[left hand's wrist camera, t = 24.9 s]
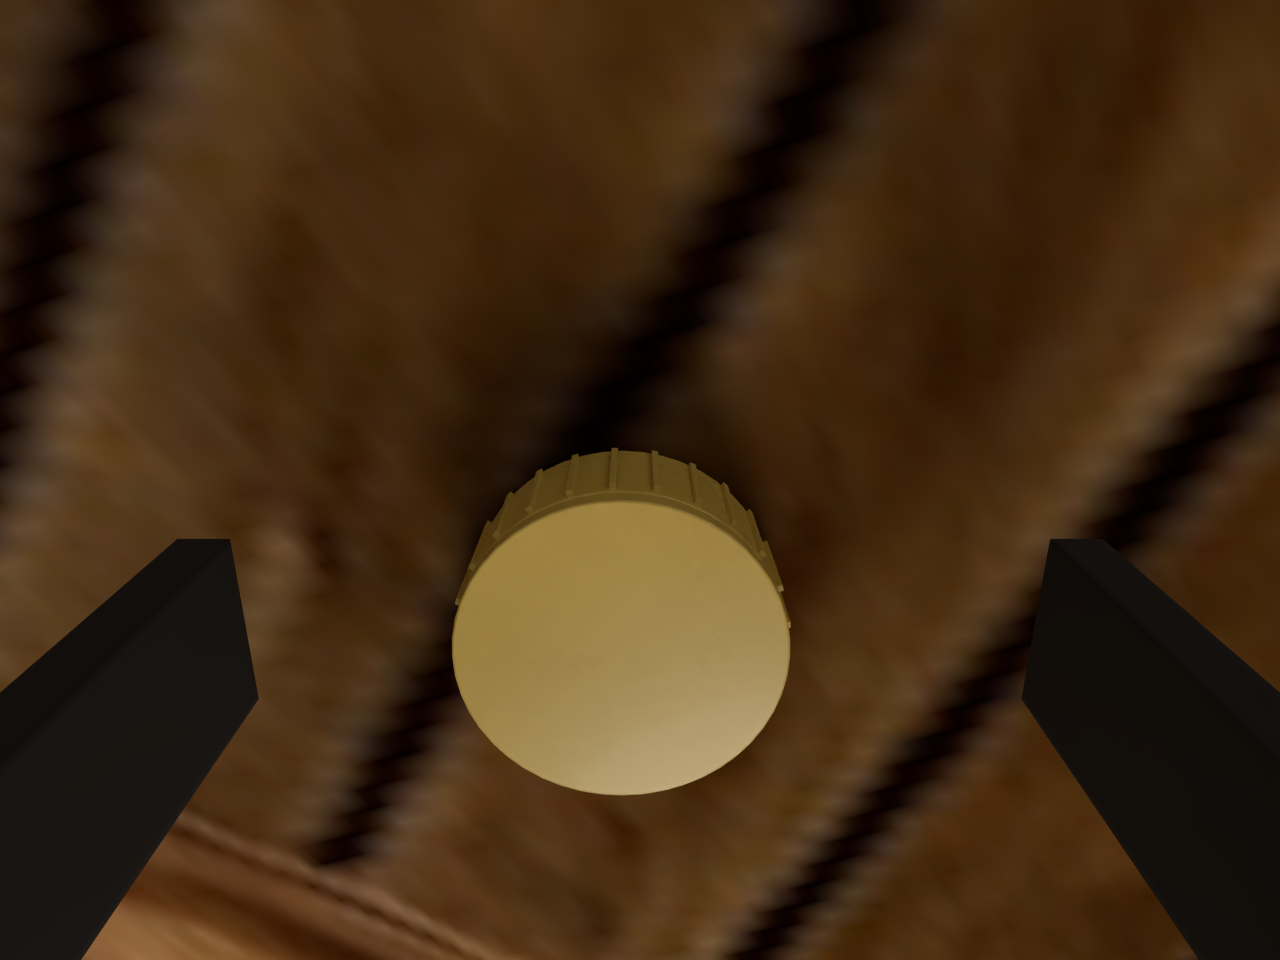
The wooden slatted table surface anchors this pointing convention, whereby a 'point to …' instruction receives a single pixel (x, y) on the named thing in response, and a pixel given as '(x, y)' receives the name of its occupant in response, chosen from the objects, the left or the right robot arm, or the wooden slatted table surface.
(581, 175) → the wooden slatted table surface
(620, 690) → the lid
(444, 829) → the wooden slatted table surface
